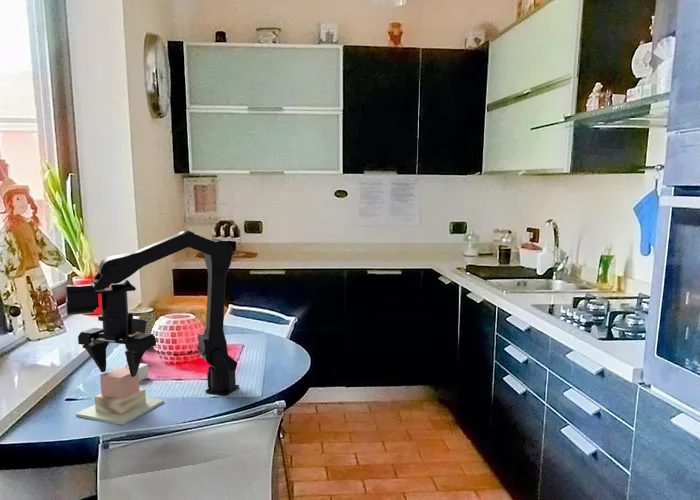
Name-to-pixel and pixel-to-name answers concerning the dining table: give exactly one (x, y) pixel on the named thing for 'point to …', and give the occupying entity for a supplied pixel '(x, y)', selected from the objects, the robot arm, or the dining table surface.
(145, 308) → the yellow food can
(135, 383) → the coral block
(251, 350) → the dining table surface
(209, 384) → the robot arm
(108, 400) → the block
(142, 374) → the cap block
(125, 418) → the baseplate
